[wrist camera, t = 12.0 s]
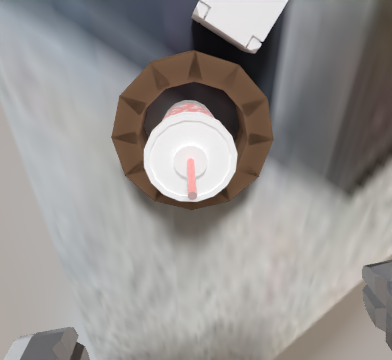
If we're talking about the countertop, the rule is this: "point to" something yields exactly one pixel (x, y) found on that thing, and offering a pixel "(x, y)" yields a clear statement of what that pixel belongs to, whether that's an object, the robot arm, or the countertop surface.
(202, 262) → the countertop surface
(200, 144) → the beverage cup
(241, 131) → the walnut ring
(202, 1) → the container set
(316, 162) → the countertop surface
